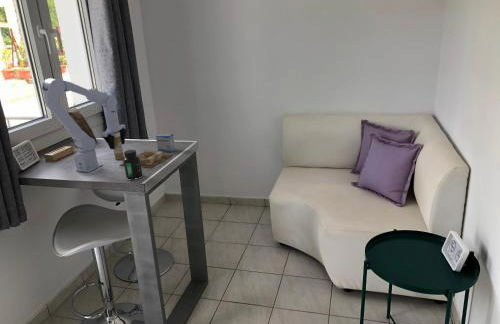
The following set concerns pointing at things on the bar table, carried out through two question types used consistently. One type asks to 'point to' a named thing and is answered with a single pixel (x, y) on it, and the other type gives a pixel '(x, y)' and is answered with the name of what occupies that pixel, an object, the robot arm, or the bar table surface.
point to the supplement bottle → (132, 165)
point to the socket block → (151, 158)
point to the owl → (81, 122)
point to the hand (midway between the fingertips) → (117, 146)
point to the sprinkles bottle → (117, 146)
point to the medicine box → (165, 142)
